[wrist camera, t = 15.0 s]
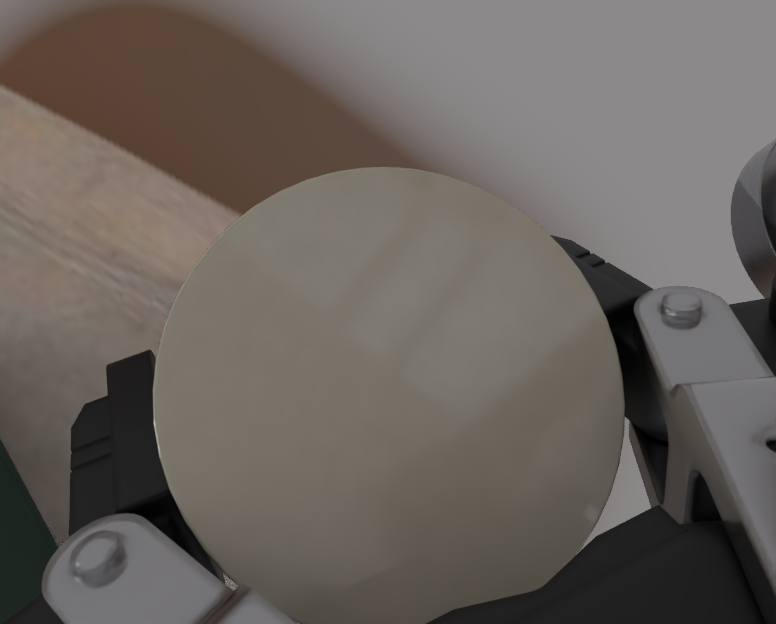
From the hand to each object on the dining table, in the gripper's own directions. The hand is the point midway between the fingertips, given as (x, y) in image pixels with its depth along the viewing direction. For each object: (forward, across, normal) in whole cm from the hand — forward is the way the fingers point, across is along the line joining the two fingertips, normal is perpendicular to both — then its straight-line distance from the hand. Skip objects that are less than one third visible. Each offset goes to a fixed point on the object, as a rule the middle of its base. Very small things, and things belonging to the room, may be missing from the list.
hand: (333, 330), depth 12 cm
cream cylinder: (+3, 0, +6) cm, 7 cm away
